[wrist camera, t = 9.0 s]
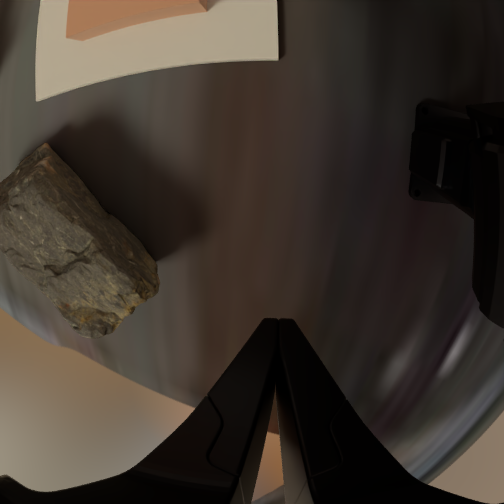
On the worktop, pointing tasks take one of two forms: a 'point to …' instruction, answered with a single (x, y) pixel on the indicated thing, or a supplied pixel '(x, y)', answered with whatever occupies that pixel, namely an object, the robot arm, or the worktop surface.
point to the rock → (72, 246)
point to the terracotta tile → (122, 14)
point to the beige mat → (152, 44)
